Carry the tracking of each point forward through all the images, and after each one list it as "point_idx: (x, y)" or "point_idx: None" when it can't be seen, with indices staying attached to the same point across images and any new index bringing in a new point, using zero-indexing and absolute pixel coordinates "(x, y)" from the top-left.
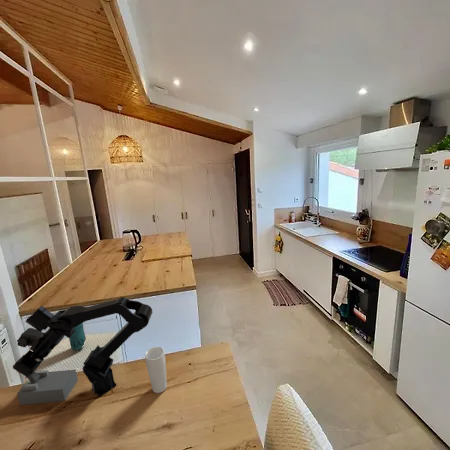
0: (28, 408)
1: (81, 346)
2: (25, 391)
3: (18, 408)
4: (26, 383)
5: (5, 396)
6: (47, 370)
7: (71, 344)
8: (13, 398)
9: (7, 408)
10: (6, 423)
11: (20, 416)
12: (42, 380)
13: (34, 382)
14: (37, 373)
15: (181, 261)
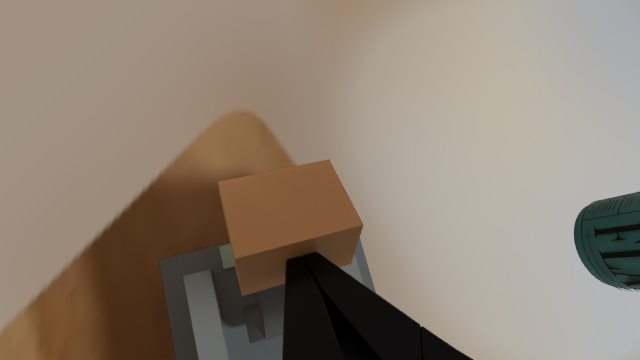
0: (156, 349)
1: (614, 283)
2: (181, 317)
3: (152, 277)
4: None
5: (225, 115)
6: None
7: (613, 231)
8: (217, 174)
9: (148, 204)
10: (38, 308)
11: (92, 355)
12: None
13: (252, 342)
14: None
15: None
